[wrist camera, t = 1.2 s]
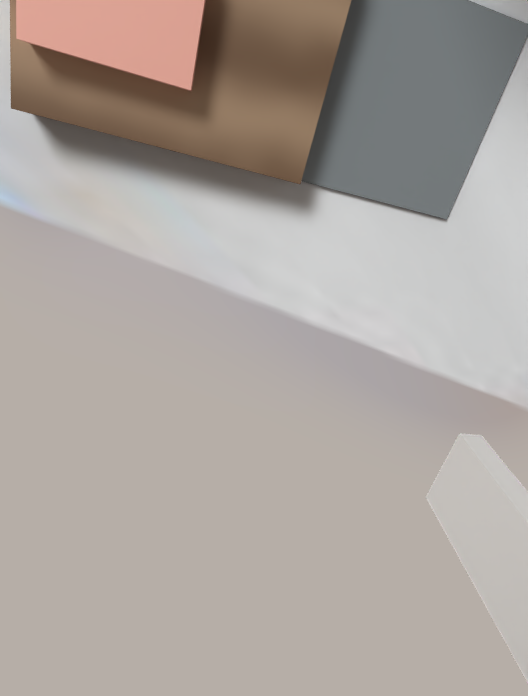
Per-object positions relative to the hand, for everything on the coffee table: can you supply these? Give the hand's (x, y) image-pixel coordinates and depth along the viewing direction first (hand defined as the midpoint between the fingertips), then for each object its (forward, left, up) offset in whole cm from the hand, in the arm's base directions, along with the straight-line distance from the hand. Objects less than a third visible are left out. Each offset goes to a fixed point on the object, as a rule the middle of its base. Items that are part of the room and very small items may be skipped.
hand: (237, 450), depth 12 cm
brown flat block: (-12, -4, -24) cm, 27 cm away
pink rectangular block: (-12, -8, -21) cm, 26 cm away
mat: (-12, +11, -24) cm, 29 cm away
